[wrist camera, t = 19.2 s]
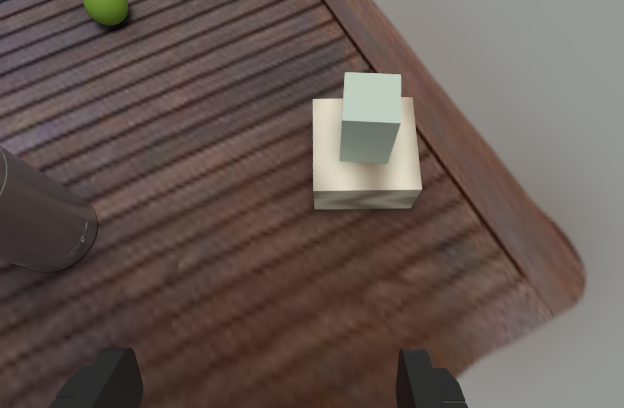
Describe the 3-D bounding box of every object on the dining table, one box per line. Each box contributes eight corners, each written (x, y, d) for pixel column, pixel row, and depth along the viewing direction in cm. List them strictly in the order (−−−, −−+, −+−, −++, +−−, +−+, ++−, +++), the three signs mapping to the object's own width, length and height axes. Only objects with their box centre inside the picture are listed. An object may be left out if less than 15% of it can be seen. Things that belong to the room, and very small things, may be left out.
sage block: (339, 161, 42) (342, 120, 35) (341, 119, 44) (345, 72, 36) (387, 164, 42) (400, 123, 34) (388, 122, 44) (401, 74, 36)
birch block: (314, 210, 47) (313, 190, 41) (314, 127, 51) (312, 99, 45) (410, 209, 46) (422, 189, 41) (402, 125, 50) (412, 97, 45)
